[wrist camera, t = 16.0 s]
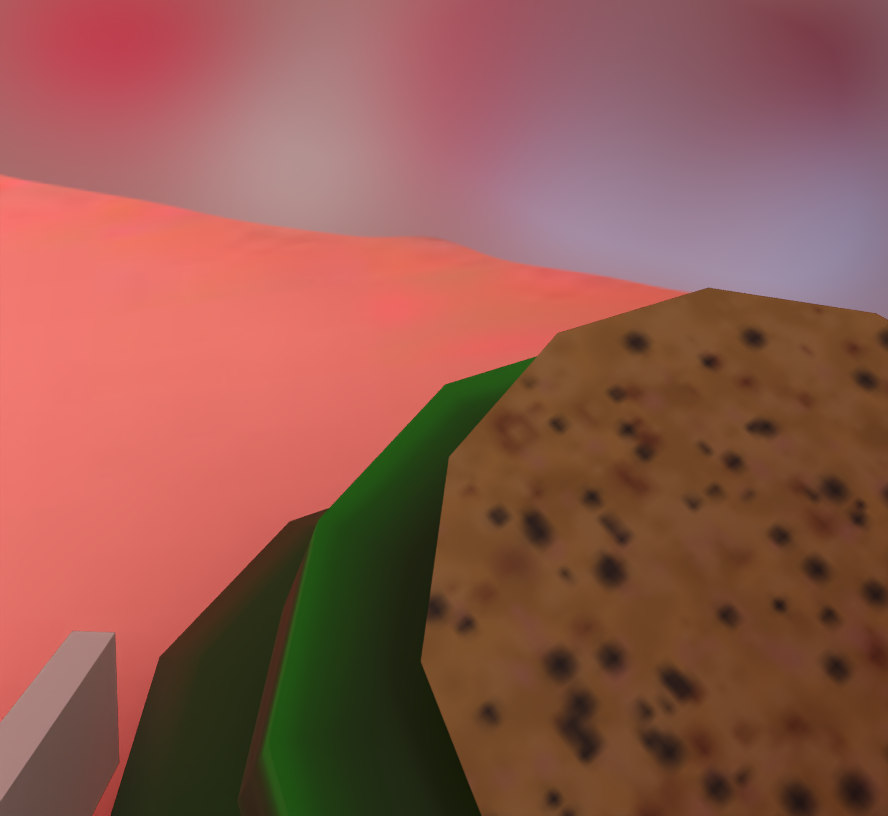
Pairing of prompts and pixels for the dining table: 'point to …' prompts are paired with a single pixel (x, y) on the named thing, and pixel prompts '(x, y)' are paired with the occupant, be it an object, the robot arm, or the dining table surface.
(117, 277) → the dining table surface
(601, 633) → the bottle
